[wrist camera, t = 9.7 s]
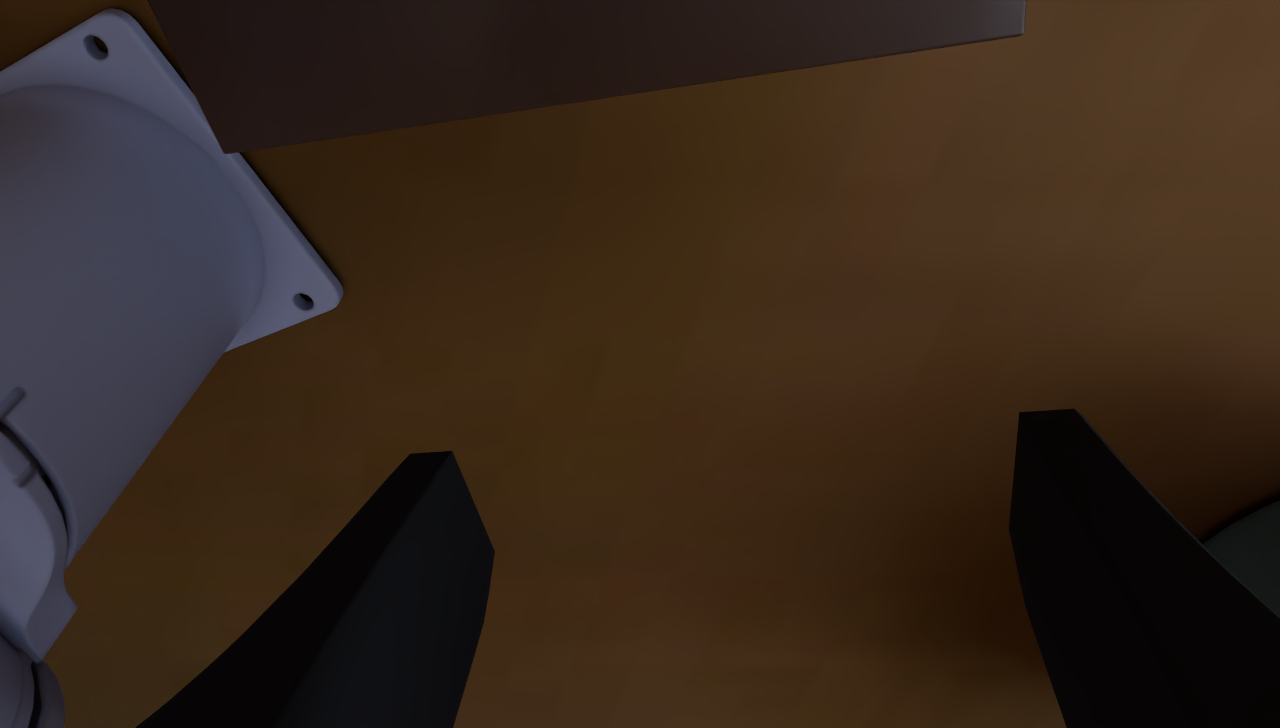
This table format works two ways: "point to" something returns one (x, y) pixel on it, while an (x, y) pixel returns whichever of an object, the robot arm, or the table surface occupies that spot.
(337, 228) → the table surface
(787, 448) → the table surface
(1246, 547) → the flower pot
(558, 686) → the table surface
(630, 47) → the step shelf
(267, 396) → the table surface
